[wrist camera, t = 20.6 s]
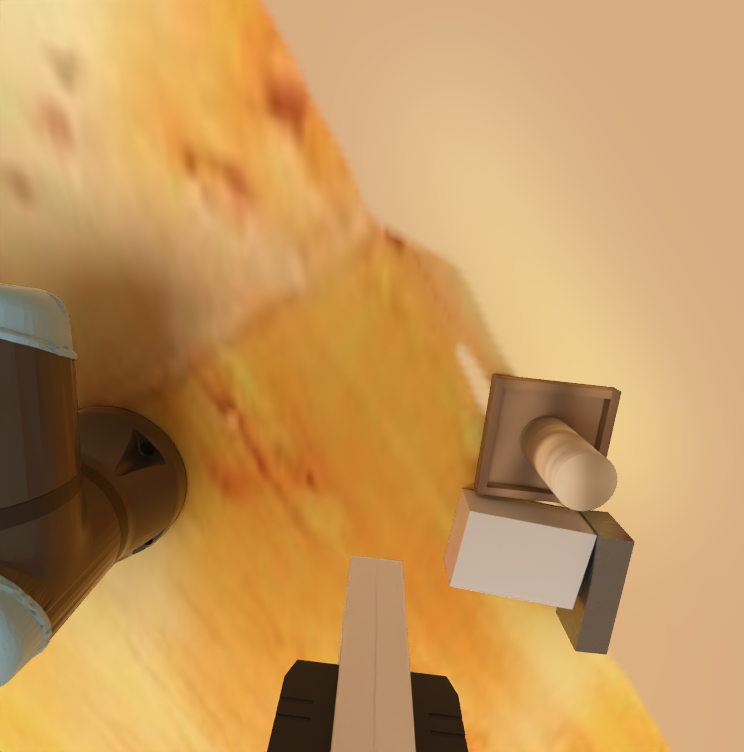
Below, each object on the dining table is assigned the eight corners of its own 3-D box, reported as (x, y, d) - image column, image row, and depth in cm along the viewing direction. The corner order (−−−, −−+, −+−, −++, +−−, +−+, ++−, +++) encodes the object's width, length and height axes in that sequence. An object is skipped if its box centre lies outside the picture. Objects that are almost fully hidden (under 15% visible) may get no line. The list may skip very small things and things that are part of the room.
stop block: (556, 612, 54) (575, 651, 49) (578, 509, 52) (601, 538, 46) (584, 615, 54) (606, 654, 49) (608, 512, 52) (634, 541, 46)
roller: (523, 469, 50) (558, 516, 42) (517, 421, 49) (551, 460, 40) (573, 459, 50) (619, 504, 41) (568, 411, 49) (614, 448, 40)
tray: (473, 486, 51) (476, 493, 50) (492, 374, 49) (496, 377, 47) (588, 499, 51) (595, 506, 50) (613, 387, 49) (621, 391, 47)
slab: (443, 556, 53) (449, 586, 49) (461, 487, 52) (469, 510, 47) (554, 577, 54) (572, 609, 49) (576, 509, 52) (597, 535, 47)
